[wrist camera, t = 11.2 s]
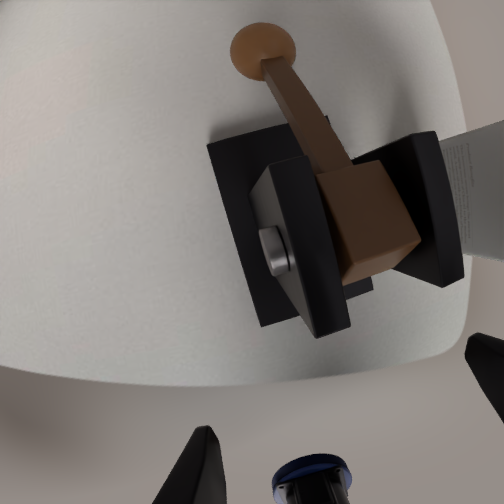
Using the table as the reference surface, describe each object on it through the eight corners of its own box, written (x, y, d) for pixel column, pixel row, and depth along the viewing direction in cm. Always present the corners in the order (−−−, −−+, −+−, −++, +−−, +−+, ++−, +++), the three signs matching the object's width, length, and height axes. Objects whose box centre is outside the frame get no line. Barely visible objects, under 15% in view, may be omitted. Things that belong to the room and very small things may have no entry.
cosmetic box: (434, 237, 21) (557, 258, 9) (389, 241, 20) (517, 269, 8) (427, 158, 20) (548, 132, 8) (382, 157, 20) (505, 116, 8)
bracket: (207, 148, 19) (167, 48, 6) (322, 120, 19) (422, 21, 6) (259, 321, 20) (291, 454, 8) (366, 286, 21) (492, 359, 8)
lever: (228, 67, 14) (219, 20, 12) (283, 56, 15) (281, 9, 12) (320, 295, 10) (338, 265, 7) (402, 266, 10) (442, 230, 7)
